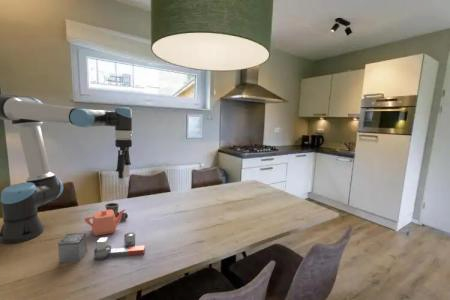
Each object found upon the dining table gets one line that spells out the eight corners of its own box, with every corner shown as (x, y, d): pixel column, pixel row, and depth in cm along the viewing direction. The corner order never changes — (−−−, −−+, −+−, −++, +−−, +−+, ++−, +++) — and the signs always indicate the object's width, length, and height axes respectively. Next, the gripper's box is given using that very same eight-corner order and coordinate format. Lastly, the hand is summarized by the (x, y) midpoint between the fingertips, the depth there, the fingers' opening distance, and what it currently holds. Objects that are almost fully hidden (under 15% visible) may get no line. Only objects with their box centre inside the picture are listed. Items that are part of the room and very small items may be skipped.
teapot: (86, 228, 112) (85, 208, 110) (125, 222, 120) (125, 203, 119) (84, 239, 102) (83, 218, 100) (127, 232, 110) (126, 211, 109)
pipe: (123, 222, 119) (122, 208, 118) (102, 219, 122) (101, 205, 121) (130, 218, 125) (129, 204, 124) (110, 215, 128) (109, 201, 127)
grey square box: (59, 262, 85) (58, 243, 84) (68, 252, 92) (67, 234, 91) (79, 261, 87) (78, 242, 85) (86, 250, 93) (86, 232, 92)
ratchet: (91, 261, 87) (91, 244, 86) (97, 252, 93) (96, 236, 92) (143, 256, 91) (143, 240, 90) (145, 248, 97) (145, 233, 96)
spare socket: (123, 248, 96) (123, 237, 95) (125, 243, 100) (125, 232, 100) (134, 247, 97) (134, 237, 96) (136, 242, 101) (135, 232, 101)
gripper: (127, 141, 99) (127, 187, 102) (135, 137, 123) (135, 174, 126) (108, 141, 97) (109, 188, 100) (120, 136, 121) (121, 174, 124)
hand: (124, 180), depth 113 cm, fingers open, 13 cm apart
